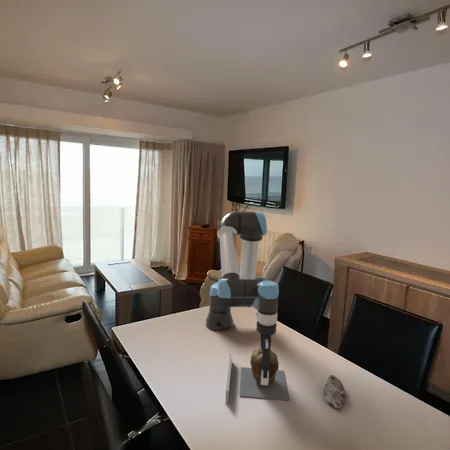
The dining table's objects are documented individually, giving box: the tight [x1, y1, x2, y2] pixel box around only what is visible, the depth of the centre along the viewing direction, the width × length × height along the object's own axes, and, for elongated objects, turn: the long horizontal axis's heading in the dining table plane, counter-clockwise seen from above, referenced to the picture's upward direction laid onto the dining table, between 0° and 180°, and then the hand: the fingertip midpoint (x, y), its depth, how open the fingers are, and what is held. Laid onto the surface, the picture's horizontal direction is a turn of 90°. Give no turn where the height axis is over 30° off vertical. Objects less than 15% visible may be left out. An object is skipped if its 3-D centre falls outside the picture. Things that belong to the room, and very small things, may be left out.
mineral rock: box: [323, 374, 347, 409], centre depth 116 cm, size 15×8×4 cm, turn 149°
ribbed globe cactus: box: [249, 347, 280, 384], centre depth 121 cm, size 11×11×12 cm
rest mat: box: [239, 366, 290, 401], centre depth 122 cm, size 18×18×1 cm
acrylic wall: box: [225, 351, 233, 405], centre depth 123 cm, size 26×1×5 cm, turn 176°
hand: (263, 374), depth 122 cm, fingers closed on ribbed globe cactus, 11 cm apart
